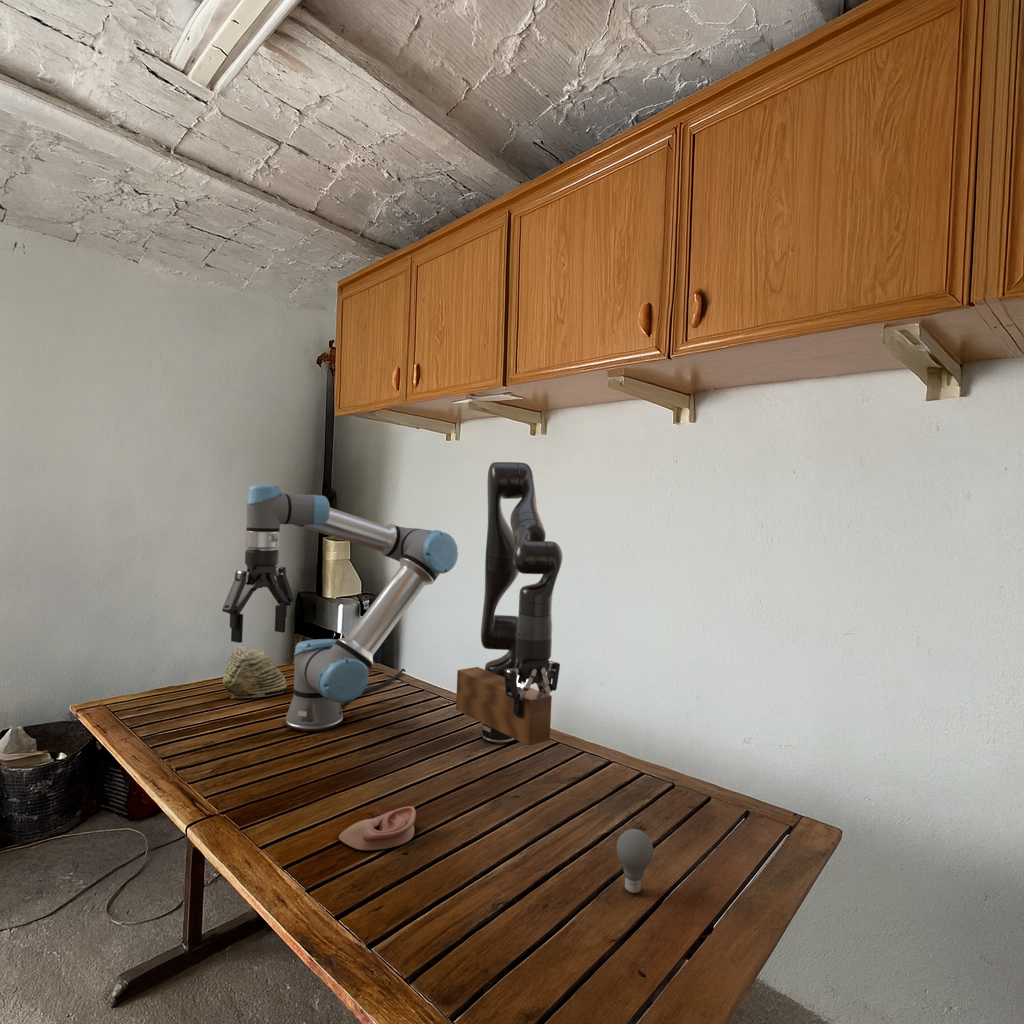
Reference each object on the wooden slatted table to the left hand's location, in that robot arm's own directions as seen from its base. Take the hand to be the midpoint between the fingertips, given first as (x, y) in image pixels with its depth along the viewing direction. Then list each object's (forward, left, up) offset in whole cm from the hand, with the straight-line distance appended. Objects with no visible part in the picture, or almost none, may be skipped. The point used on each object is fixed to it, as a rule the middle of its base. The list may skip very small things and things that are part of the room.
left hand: (259, 636), depth 153 cm
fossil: (-24, -42, -29) cm, 56 cm away
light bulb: (-14, +94, -29) cm, 100 cm away
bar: (-28, +53, -15) cm, 62 cm away
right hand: (-26, +63, -9) cm, 69 cm away
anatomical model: (+3, +50, -29) cm, 58 cm away
